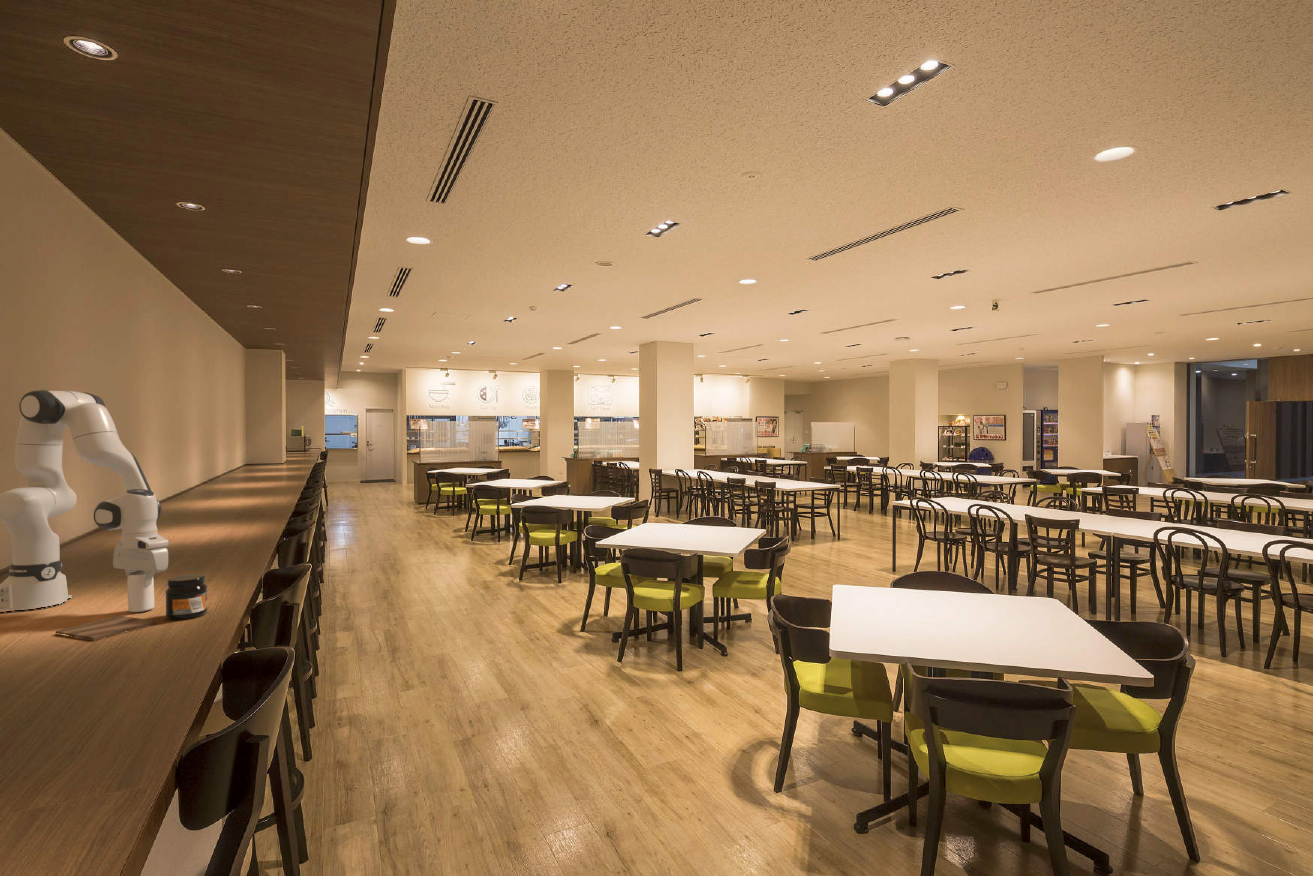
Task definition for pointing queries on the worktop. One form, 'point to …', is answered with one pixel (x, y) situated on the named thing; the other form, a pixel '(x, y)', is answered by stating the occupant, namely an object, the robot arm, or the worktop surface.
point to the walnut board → (106, 627)
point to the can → (139, 592)
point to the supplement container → (186, 597)
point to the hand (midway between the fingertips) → (139, 584)
